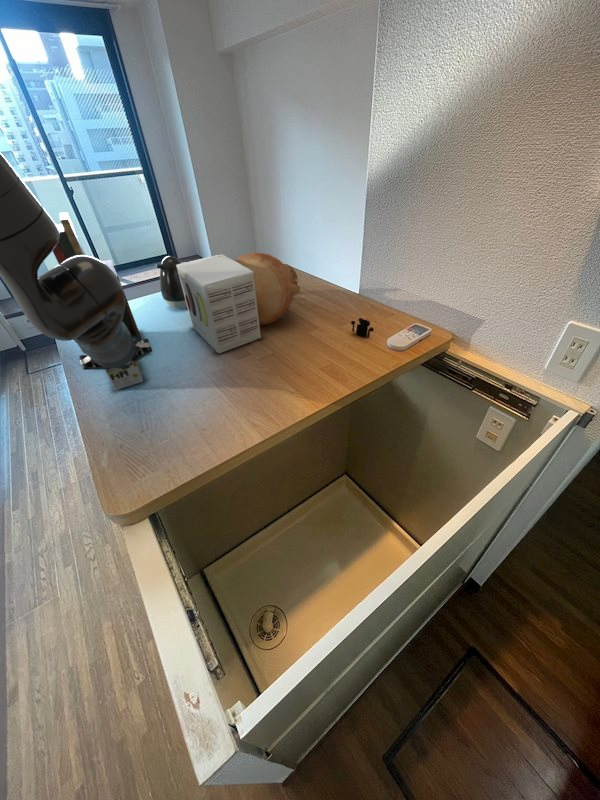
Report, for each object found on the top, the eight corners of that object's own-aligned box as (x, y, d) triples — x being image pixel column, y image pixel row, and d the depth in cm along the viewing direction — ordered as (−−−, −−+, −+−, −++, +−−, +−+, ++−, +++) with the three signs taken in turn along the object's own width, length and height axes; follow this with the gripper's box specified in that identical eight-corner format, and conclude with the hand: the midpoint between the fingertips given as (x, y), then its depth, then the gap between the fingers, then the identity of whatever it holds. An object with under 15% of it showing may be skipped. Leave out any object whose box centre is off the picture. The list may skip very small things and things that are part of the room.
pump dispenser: (158, 308, 104) (142, 259, 94) (182, 296, 111) (169, 249, 101) (181, 315, 100) (168, 264, 90) (204, 302, 107) (194, 254, 97)
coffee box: (144, 381, 75) (118, 318, 64) (115, 391, 73) (82, 326, 62) (137, 362, 81) (112, 301, 70) (110, 370, 79) (79, 308, 68)
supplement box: (191, 328, 93) (174, 264, 82) (232, 315, 99) (222, 253, 87) (218, 354, 83) (202, 285, 71) (262, 338, 89) (254, 270, 77)
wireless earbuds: (348, 332, 91) (350, 316, 87) (353, 329, 92) (355, 312, 89) (370, 341, 87) (373, 324, 84) (375, 337, 89) (378, 320, 85)
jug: (198, 288, 86) (242, 263, 110) (244, 345, 92) (276, 310, 116) (251, 241, 76) (287, 225, 100) (298, 309, 83) (321, 279, 106)
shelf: (98, 367, 80) (26, 228, 59) (93, 343, 88) (29, 214, 68) (147, 353, 84) (96, 219, 64) (138, 332, 92) (91, 208, 72)
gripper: (140, 309, 56) (150, 340, 72) (52, 329, 51) (84, 357, 68) (155, 350, 56) (162, 371, 72) (69, 373, 51) (97, 390, 68)
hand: (124, 364), depth 70 cm, fingers closed
